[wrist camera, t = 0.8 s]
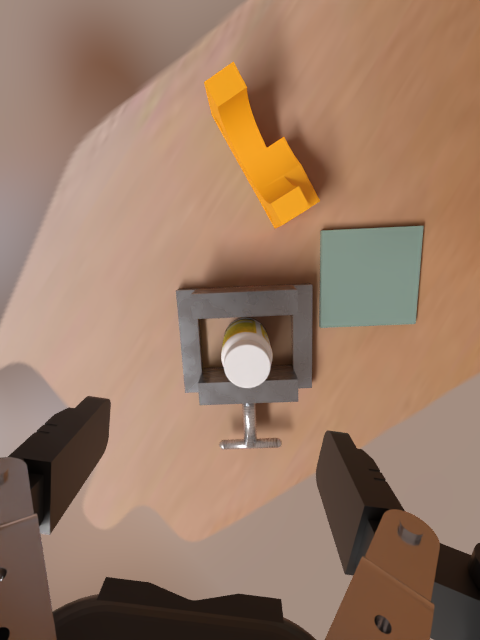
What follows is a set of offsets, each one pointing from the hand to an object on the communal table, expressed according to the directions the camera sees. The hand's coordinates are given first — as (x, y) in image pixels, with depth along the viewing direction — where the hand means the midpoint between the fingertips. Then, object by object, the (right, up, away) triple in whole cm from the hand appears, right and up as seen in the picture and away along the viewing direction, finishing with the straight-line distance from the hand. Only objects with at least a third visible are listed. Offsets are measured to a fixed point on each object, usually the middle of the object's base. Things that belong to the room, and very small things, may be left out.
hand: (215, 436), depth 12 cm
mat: (+14, +9, +22) cm, 27 cm away
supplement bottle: (+2, +2, +24) cm, 24 cm away
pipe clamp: (+3, +20, +20) cm, 28 cm away
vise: (+2, -1, +24) cm, 24 cm away
